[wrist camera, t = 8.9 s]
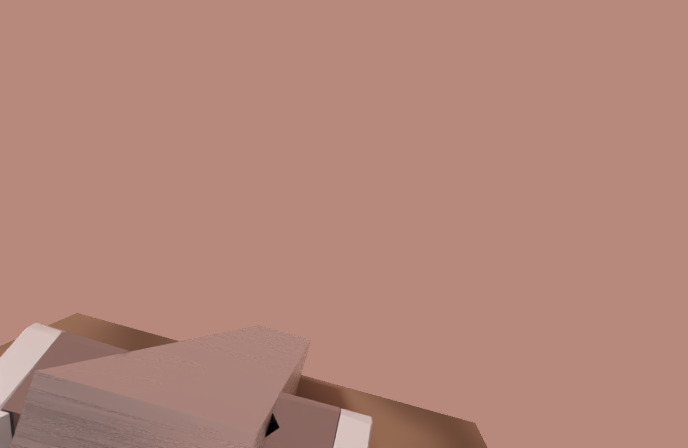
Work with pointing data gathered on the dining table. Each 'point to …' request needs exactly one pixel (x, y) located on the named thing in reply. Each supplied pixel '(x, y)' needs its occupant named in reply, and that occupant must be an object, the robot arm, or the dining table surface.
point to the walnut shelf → (316, 395)
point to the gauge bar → (166, 394)
